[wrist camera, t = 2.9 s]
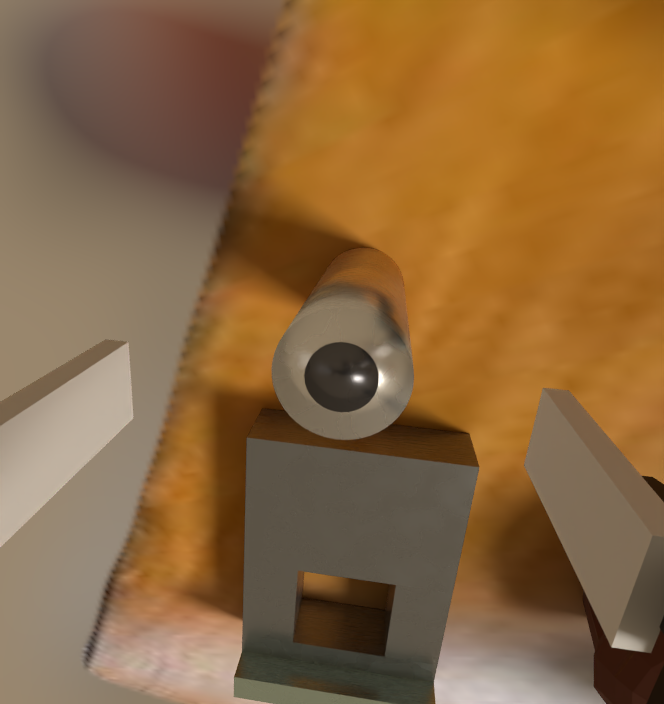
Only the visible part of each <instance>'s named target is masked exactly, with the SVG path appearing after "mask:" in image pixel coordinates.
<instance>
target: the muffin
mask: <svg viewBox="0 0 664 704" xmlns="http://www.w3.org/2000/svg"><path fill="white" fill-rule="evenodd" d="M583 603H584V607H585V611H586V615H587V620H588V624H589V628H590V632H591V636H592V640H593V644H594V648H595V653H594V688H595V689H596V690H597V692H598V693H599V694H600V696H601V697H602V698H603V700H604V701H605V702H606V704H646V703H647V701H648V699H649V696H650V694H651V692H652V690H653V687H654V685H655V683H656V681H657V678H658V676H659V674H660V672H661V669H662V667H663V665H664V634H663V632H662V631H661V630H660V632H659V635H658V637H657V640H656V642H655V645H654V647H653V649H652V652H651V653H647V652H640V651H633V650H626V649H619V648H612V647H611V646H610V644H609V641H608V639H607V637H606V635H605V633H604V631H603V629H602V627H601V625H600V623H599V621H598V619H597V616H596V614H595V612H594V610H593V608H592V606H591V604H590V602H589V600H588V598H587V596H586V593H585V591H584V589H583Z"/></svg>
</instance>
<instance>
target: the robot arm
mask: <svg viewBox="0 0 664 704" xmlns="http://www.w3.org/2000/svg"><path fill="white" fill-rule="evenodd" d="M132 419H133V406H132V389H131V374H130V359H129V344H128V342H123V341H114V340H104V341H102V342H101V343H99V344H97V345H96V346H94V347H92V348H90V349H89V350H87V351H85V352H84V353H82V354H80V355H79V356H77V357H75V358H74V359H72V360H70V361H69V362H67V363H65V364H64V365H62V366H60V367H58V368H57V369H55V370H53V371H52V372H50V373H48V374H47V375H45V376H43V377H42V378H40V379H38V380H37V381H35V382H33V383H32V384H30V385H28V386H26V387H25V388H23V389H21V390H20V391H18V392H16V393H15V394H13V395H12V396H9V397H8V398H6V399H4V400H3V401H1V402H0V547H1V546H2V545H3V544H4V543H5V542H6V541H7V540H8V539H9V538H10V537H11V536H12V535H13V534H14V533H15V532H17V530H19V529H20V528H21V527H22V526H23V525H24V524H25V523H26V522H27V521H28V520H29V519H30V518H31V517H32V516H33V515H34V514H35V513H36V512H37V511H38V510H39V509H40V508H41V507H42V506H43V505H44V504H45V503H46V502H47V501H48V500H50V498H52V497H53V496H54V495H55V494H56V493H57V492H58V491H59V490H60V489H61V488H62V487H63V486H64V485H65V484H66V483H67V482H68V481H69V480H70V479H71V478H72V477H73V476H74V475H75V474H76V473H77V472H78V471H79V470H80V469H81V468H82V467H83V466H84V465H85V464H86V463H88V462H89V461H90V460H91V459H92V458H93V457H94V456H95V455H96V454H97V453H98V452H99V451H100V450H101V449H102V448H103V447H104V446H105V445H106V444H107V443H108V442H109V441H110V440H111V439H112V438H113V437H114V436H115V435H116V434H117V433H118V432H119V431H121V430H122V429H123V428H124V427H125V426H126V425H127V424H128V423H129V422H130V421H131V420H132ZM524 466H525V468H526V470H527V472H528V475H529V477H530V479H531V481H532V483H533V485H534V487H535V489H536V491H537V493H538V495H539V497H540V500H541V502H542V504H543V506H544V508H545V510H546V512H547V514H548V516H549V518H550V520H551V523H552V525H553V527H554V529H555V531H556V533H557V535H558V537H559V539H560V541H561V543H562V545H563V548H564V550H565V552H566V554H567V556H568V558H569V560H570V562H571V564H572V566H573V568H574V571H575V573H576V575H577V577H578V579H579V581H580V583H581V585H582V587H583V589H584V591H585V593H586V596H587V598H588V600H589V602H590V604H591V606H592V608H593V610H594V612H595V614H596V616H597V619H598V621H599V623H600V625H601V627H602V629H603V631H604V633H605V635H606V637H607V639H608V641H609V644H610V646H611V647H612V648H619V649H626V650H633V651H640V652H647V653H651V652H652V649H653V647H654V645H655V642H656V640H657V637H658V635H659V632H660V630H661V631H662V632H663V634H664V484H662V483H661V482H659V481H658V480H656V479H655V478H653V477H648V476H641V475H640V474H639V473H638V471H637V470H636V469H635V468H634V467H633V466H632V464H631V463H630V462H629V461H628V460H627V458H626V457H625V456H624V455H623V454H622V453H621V451H620V450H619V449H618V448H617V447H616V446H615V444H614V443H613V442H612V441H611V440H610V438H609V437H608V436H607V435H606V434H605V433H604V431H603V430H602V429H601V428H600V427H599V426H598V424H597V423H596V422H595V421H594V420H593V419H592V417H591V416H590V415H589V414H588V413H587V411H586V410H585V409H584V408H583V407H582V406H581V404H580V403H579V402H578V401H577V400H576V399H575V397H574V396H573V395H572V394H571V393H570V391H568V390H559V389H549V388H543V390H542V394H541V398H540V403H539V407H538V411H537V415H536V419H535V423H534V427H533V431H532V435H531V439H530V443H529V447H528V451H527V455H526V459H525V463H524ZM646 704H664V665H663V667H662V669H661V672H660V674H659V676H658V678H657V681H656V683H655V685H654V687H653V690H652V692H651V694H650V696H649V699H648V701H647V703H646Z"/></svg>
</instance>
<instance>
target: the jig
mask: <svg viewBox="0 0 664 704" xmlns="http://www.w3.org/2000/svg"><path fill="white" fill-rule="evenodd" d="M478 471H479V465H478V461H477V458H476V454H475V451H474V448H473V444H472V441H471V438H470V434H467V433H459V432H451V431H443V430H434V429H426V428H418V427H410V426H402V425H394V424H390V425H389V426H388V427H386V428H385V429H383V430H381V431H380V432H378V433H375V434H373V435H371V436H367V437H364V438H359V439H352V440H339V439H332V438H327V437H323V436H320V435H317V434H315V433H313V432H311V431H309V430H307V429H305V428H304V427H302V426H301V425H300V424H298V423H297V422H296V421H295V420H294V419H293V418H291V417H290V416H289V414H288V413H287V412H286V411H280V410H272V409H264V408H262V410H261V412H260V414H259V416H258V418H257V420H256V421H255V423H254V425H253V427H252V429H251V431H250V432H249V434H248V436H247V449H246V496H245V542H244V589H243V636H242V653H241V657H240V660H239V663H238V666H237V670H236V673H235V676H234V697H238V698H244V699H249V700H255V701H261V702H267V703H273V704H435V693H434V678H435V673H436V669H437V664H438V659H439V654H440V650H441V645H442V640H443V636H444V631H445V626H446V622H447V617H448V612H449V607H450V603H451V598H452V593H453V589H454V584H455V579H456V575H457V570H458V565H459V560H460V556H461V551H462V546H463V542H464V537H465V532H466V528H467V523H468V518H469V513H470V509H471V504H472V499H473V495H474V490H475V485H476V481H477V476H478ZM304 572H311V573H318V574H325V575H331V576H338V577H345V578H352V579H359V580H365V581H372V582H379V583H386V584H389V589H388V596H387V602H386V609H385V610H380V609H373V608H366V607H360V606H353V605H347V604H340V603H334V602H327V601H320V600H314V599H307V598H302V593H303V580H304Z"/></svg>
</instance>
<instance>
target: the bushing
mask: <svg viewBox="0 0 664 704" xmlns="http://www.w3.org/2000/svg"><path fill="white" fill-rule="evenodd" d="M272 380H273V386H274V389H275V392H276V395H277V397H278V399H279V402H280V403H281V405H282V406H283V408H284V409H285V411H286V412H287V413H288V414H289V416H290V417H291V418H293V419H294V420H295V421H296V422H297V423H298V424H300V425H301V426H302V427H304V428H305V429H307V430H309V431H311V432H313V433H315V434H317V435H320V436H323V437H327V438H332V439H339V440H352V439H359V438H364V437H367V436H371V435H373V434H375V433H378V432H380V431H381V430H383V429H385V428H386V427H388V426H389V425H390V424H392V423H393V422H394V421H395V420H396V419H397V418H398V417H399V416H400V414H401V413H402V412H403V410H404V409H405V407H406V405H407V403H408V401H409V399H410V396H411V393H412V389H413V382H414V371H413V361H412V352H411V343H410V334H409V325H408V316H407V307H406V298H405V289H404V281H403V277H402V274H401V271H400V269H399V267H398V266H397V265H396V263H395V262H394V261H393V260H392V259H391V258H390V257H389V256H388V255H386V254H384V253H383V252H381V251H379V250H376V249H372V248H354V249H350V250H348V251H345V252H344V253H342V254H340V255H339V256H337V257H336V258H335V259H334V260H333V261H332V262H331V264H330V265H329V266H328V268H327V270H326V271H325V273H324V274H323V276H322V277H321V279H320V280H319V282H318V283H317V285H316V286H315V288H314V289H313V291H312V292H311V294H310V296H309V297H308V299H307V300H306V302H305V303H304V305H303V306H302V308H301V309H300V311H299V312H298V314H297V315H296V317H295V318H294V320H293V322H292V323H291V325H290V326H289V328H288V329H287V331H286V332H285V334H284V335H283V337H282V338H281V340H280V342H279V344H278V346H277V348H276V351H275V353H274V357H273V362H272Z"/></svg>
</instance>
